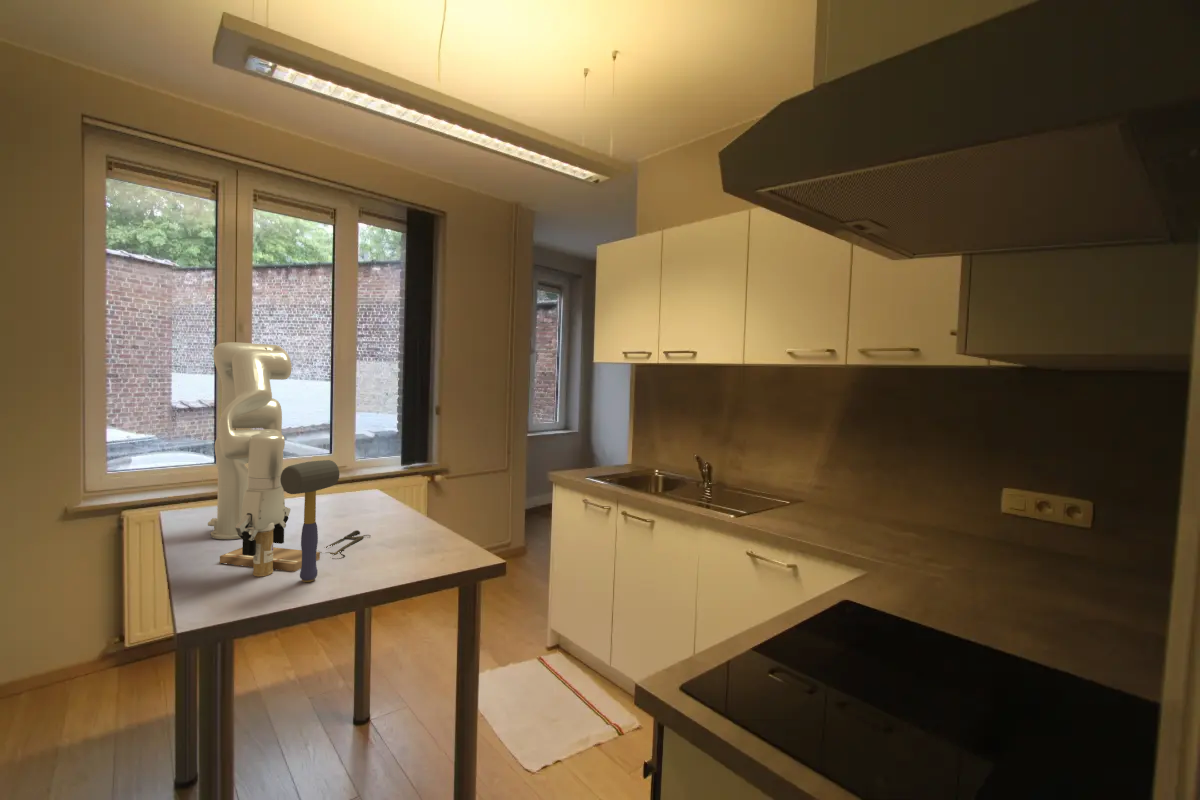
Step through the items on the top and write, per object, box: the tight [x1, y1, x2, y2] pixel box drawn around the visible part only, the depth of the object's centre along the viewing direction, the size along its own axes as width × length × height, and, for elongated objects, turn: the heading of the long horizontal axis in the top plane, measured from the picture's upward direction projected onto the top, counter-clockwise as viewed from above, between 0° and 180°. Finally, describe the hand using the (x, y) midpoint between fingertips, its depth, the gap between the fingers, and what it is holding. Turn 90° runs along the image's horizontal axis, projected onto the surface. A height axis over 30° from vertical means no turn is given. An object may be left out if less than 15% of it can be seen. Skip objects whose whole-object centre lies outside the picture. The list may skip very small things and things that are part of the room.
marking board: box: [219, 546, 321, 572], centre depth 151 cm, size 22×10×2 cm, turn 81°
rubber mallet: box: [280, 459, 340, 583], centre depth 138 cm, size 12×8×30 cm, turn 159°
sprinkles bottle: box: [252, 523, 274, 578], centre depth 141 cm, size 5×5×13 cm
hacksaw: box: [326, 530, 372, 560], centre depth 167 cm, size 24×10×2 cm, turn 172°
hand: (263, 548), depth 142 cm, fingers open, 9 cm apart
